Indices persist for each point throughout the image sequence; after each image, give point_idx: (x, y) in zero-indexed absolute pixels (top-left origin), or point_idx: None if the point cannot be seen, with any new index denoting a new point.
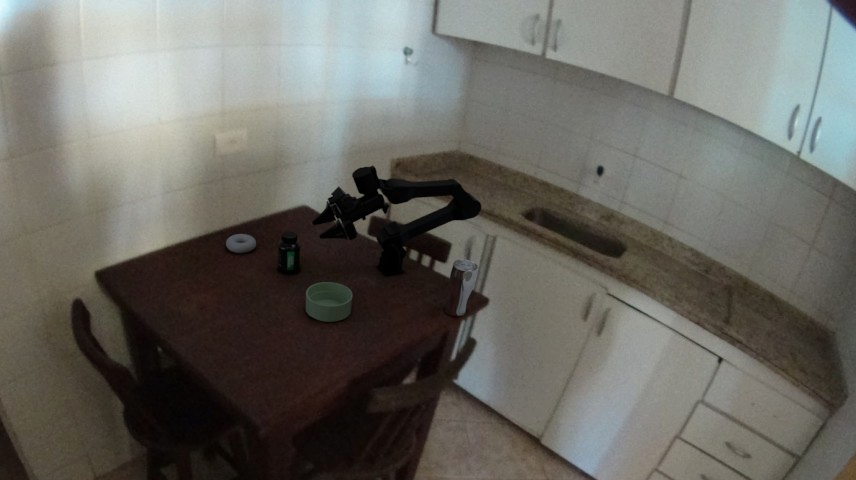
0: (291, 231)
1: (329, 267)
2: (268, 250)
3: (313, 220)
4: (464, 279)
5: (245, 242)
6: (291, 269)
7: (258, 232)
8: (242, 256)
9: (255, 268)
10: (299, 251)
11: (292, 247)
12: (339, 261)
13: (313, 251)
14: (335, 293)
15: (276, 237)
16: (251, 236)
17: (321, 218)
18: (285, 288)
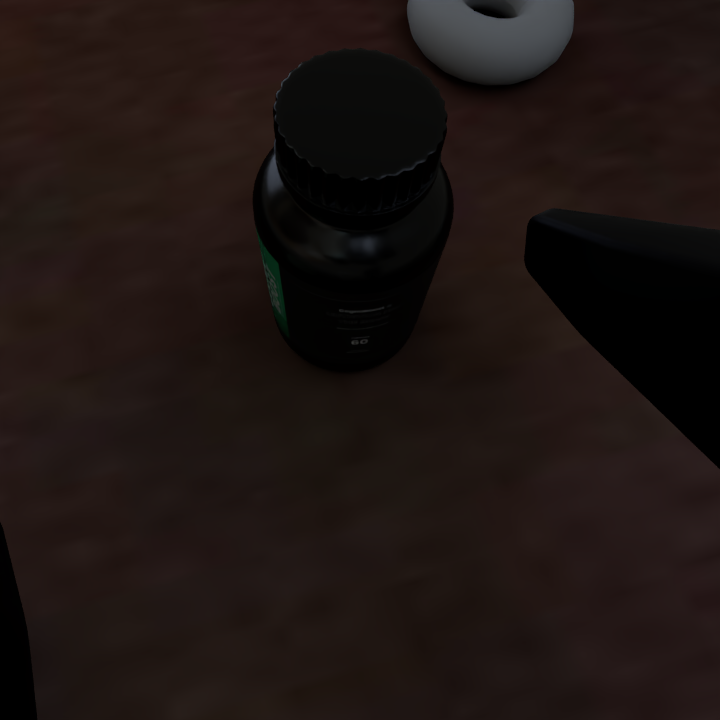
0: (438, 111)
1: (480, 571)
2: (522, 154)
3: (580, 212)
4: None
5: (469, 11)
6: (280, 325)
7: (686, 66)
8: None
9: None
10: (341, 305)
11: (279, 225)
12: (607, 626)
13: None
14: None
15: (689, 153)
16: (556, 20)
17: (700, 328)
18: (93, 354)
